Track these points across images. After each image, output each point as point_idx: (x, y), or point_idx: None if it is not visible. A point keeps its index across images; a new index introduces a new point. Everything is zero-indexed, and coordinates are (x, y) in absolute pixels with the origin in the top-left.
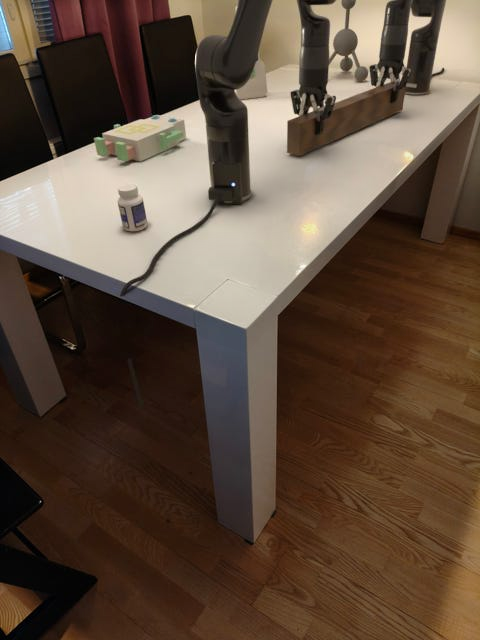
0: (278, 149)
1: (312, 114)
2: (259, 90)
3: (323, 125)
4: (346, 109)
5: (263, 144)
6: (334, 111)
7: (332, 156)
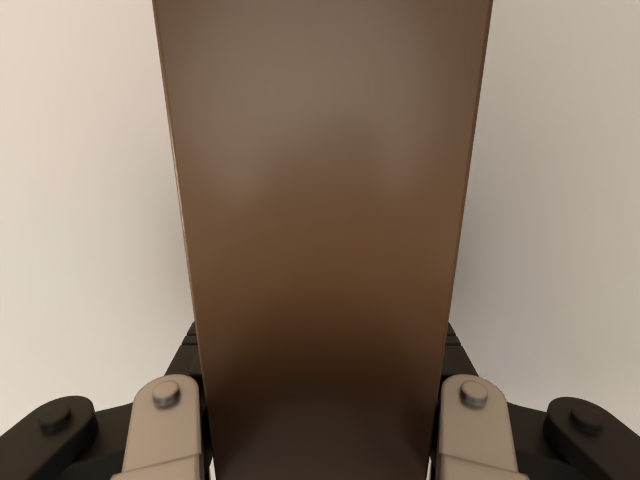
0: (162, 362)
1: (306, 428)
2: None
3: (465, 353)
4: None
5: (21, 350)
6: (480, 47)
7: (512, 277)
